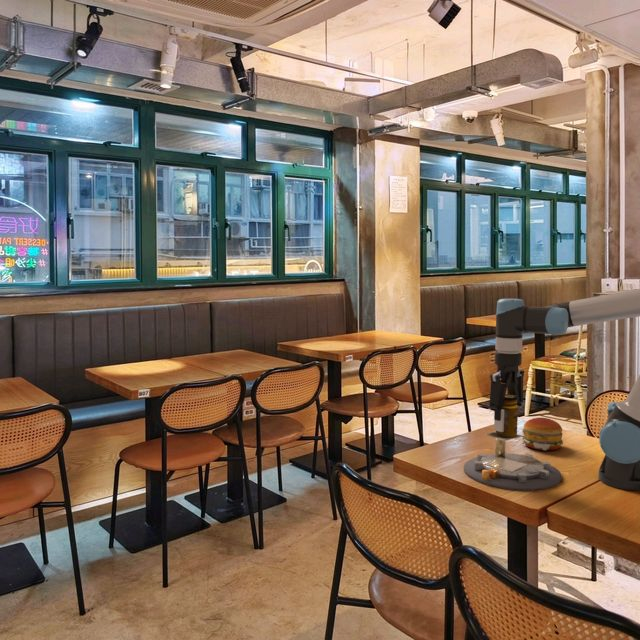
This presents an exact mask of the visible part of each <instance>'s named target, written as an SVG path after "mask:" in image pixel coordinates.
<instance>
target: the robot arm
mask: <svg viewBox="0 0 640 640" xmlns="http://www.w3.org/2000/svg"><path fill="white" fill-rule="evenodd" d="M637 317H638V318H639V317H640V288H638V289H634V290H633V289H632V290H628V291H627V290H626V291H621V292H616V293H610V294H609V293H608V294H604V295H599V296H592V297H587V298H582V299H576V300H570V301H565V302H559V303H551V304H548V305H546V306H527V305H525V303H524V300H523V299H521V298H500V299H498V300H497V302H496V313H495V350H496V351H495V352H494V364H495V365H496V366H497V370H496V373H491V374H489V375H490V376H489V377H490V392H489V393H490V394H489V408H491V409H493V410H494V411H493V413H494V415H493V419H494V426H493V427H494V431H495V432H496V431H499V432H504V410H503V409H502V408H503V404H504V399H505V394H507V390H508V394H509V395H515V396H516V397H517V406H518V407H521V406H522V405H523V402H524V377H525V370H523V369H520V368H519V367H520V366H521V365H522V362H523V361H522V359H523V357H522V356H523V354H522V353H521V352H522V351H523V333H534V334H544V335H552V336H553V335H565V334H566V333H567V331H568V328H573V327H578V326H585V325H591V324H592V325H593V324H598V323H604V322H605V323H606V322H611V321H619V320H623V319H625V320H626V319H632V318H637ZM607 407H608V408H607V410H606V411H607V420H606V422H605V424H604V426H602V428H601V429H600V430H599V434H598V439H599V440H598V442H599V445H600V448H601V450H602V452H603V453H604V457H603V459H602V462H601V464H600V466H599V468H598V473H597V474H598V476H597V478H598V480H599V481H600V482H601V483H603V484H605V485H606V486H610V487H613V488H617V489H621V490H628V491H635V492H636V491H637V492H638V491H640V374H639V375H638V377H637V379H636V381H635V383H634V384H633V386H632V388H631V390H630V392H629V393H628V395H627V397H626V399H625V400H622V401H612V402H609V404H608V406H607Z"/></svg>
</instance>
